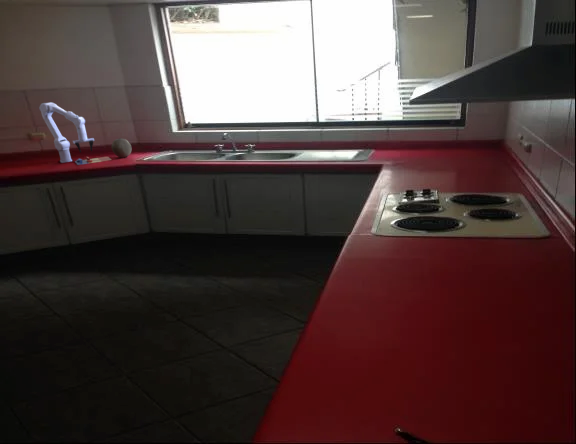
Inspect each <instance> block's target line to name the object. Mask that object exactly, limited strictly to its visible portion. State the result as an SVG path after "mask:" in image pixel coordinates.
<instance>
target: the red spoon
mask: <svg viewBox="0 0 576 444" xmlns="http://www.w3.org/2000/svg"><path fill="white" fill-rule="evenodd" d="M90 159H91V158H90V157H89V156H86V160H87V163H88V164H91V163H90V162H93V160H90Z"/></svg>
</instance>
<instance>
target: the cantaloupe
mask: <svg viewBox="0 0 576 444" xmlns="http://www.w3.org/2000/svg"><path fill="white" fill-rule="evenodd" d="M111 150H112V152H113V154H114V155H115V156H117V158H119V159H120V158H121V159H123V158H128V157H129V156H130V155H131V154H132V145H131V143H130V142H129V140H127V139H126V138H116V139H114V140H113V141H112V143H111Z"/></svg>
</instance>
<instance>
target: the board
mask: <svg viewBox="0 0 576 444" xmlns="http://www.w3.org/2000/svg"><path fill="white" fill-rule="evenodd" d="M90 160H93V162H90V163H87V159H82V163H80V162H77V161H76V160H75V161H74V163H75V164H76V165H77V166H81V165H87V164H93V163H94V164H95V163H101V162H107V161H113V160H112V158H110V157H109V156H102V157H94V158H90Z"/></svg>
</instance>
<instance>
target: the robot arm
mask: <svg viewBox="0 0 576 444" xmlns="http://www.w3.org/2000/svg"><path fill="white" fill-rule="evenodd" d="M39 111H40V112H41V117H42V119H43V121H44V123H45V124H46V127H47V128H48V130H49V131H50V133H51V135H52V136H53V138H54V140H53V144H54V148H55V149H56V150H57V152H58V154H59V158H60V160H59V162H60V163H61V164H63V163H69V162H73V159H72V156H71V153H70V147H71V143H70V141H69V140H67V138H66V137H65V136H63V135H62V133H61V131H60V130H59V128H58V126H57V124H56V122H55V121H54V119H53V117H52V116H53V114H54V112H55V113H58V114H59V115H62V116H64V117H65V119H66V120H69V121H70V122H72V123H73V124H74V126H75V128H76V132H77V136H78V139H76V140H72V144H74V145H75V146H76V148H77V150H78V151H79V154H81V153H82V149H81V145H80V143H89V149H90V152H93V146H94V142H95V138H94V137H91V138H88V135H87V129H86V126H85V124H86V119H85V117H83V116H79V115H78V114H75V113H74V112H73V111H67V110H65V109H63V108H62V107H60V106H59V105H57V104H56V103H54V102H52V101H50V102H43V103H41V104H40V105H39Z"/></svg>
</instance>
